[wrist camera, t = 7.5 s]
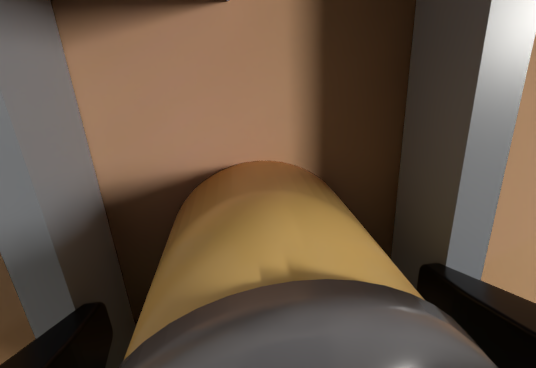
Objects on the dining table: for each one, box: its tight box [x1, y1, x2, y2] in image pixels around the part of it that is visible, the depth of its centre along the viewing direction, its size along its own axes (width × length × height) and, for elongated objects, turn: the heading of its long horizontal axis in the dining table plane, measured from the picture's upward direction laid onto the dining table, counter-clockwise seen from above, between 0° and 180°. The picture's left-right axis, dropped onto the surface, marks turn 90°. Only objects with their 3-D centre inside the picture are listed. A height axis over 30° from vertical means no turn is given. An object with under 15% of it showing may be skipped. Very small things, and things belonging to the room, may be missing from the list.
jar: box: [118, 161, 498, 368], centre depth 7 cm, size 6×6×6 cm
